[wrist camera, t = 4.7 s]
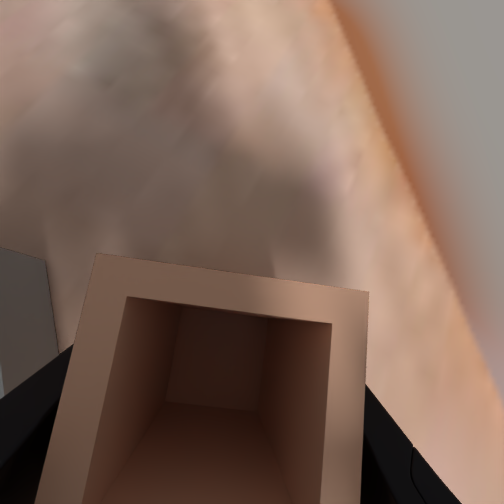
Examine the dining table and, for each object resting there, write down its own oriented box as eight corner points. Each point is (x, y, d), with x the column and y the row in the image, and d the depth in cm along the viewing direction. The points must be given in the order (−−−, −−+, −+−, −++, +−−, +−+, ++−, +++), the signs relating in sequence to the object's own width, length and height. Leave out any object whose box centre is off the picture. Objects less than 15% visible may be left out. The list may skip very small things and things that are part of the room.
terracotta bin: (268, 423, 15) (354, 620, 5) (149, 411, 15) (10, 599, 5) (281, 305, 16) (369, 291, 7) (171, 290, 16) (96, 252, 6)
